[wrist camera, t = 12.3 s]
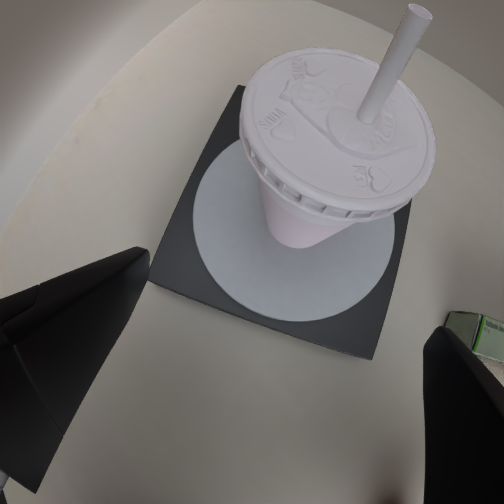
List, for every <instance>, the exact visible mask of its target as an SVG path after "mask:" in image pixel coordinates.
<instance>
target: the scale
mask: <svg viewBox="0 0 504 504" xmlns="http://www.w3.org/2000/svg"><path fill="white" fill-rule="evenodd" d="M245 88H246V87H245V86H241V85H238V86H237V88H236V90H235V91H234V93H233V95H232V97H231V99H230V100H229V102H228V104H227V106H226V108H225V110H224V111H223V113H222V115H221V117H220V119H219V121H218V123H217V125H216V126H215V128H214V130H213V132H212V134H211V136H210V138H209V140H208V142H207V144H206V146H205V148H204V150H203V152H202V154H201V156H200V158H199V160H198V162H197V164H196V166H195V168H194V170H193V172H192V174H191V176H190V178H189V180H188V182H187V184H186V186H185V189H184V191H183V193H182V195H181V197H180V199H179V201H178V204H177V206H176V208H175V210H174V212H173V215H172V217H171V219H170V221H169V224H168V226H167V228H166V230H165V233H164V235H163V237H162V240H161V242H160V244H159V247H158V249H157V251H156V254H155V256H154V259H153V261H152V263H151V266H150V268H149V277H148V281H150V282H152V283H154V284H156V285H158V286H161V287H163V288H165V289H168V290H170V291H173V292H175V293H178V294H180V295H183V296H185V297H188V298H190V299H193V300H195V301H198V302H200V303H203V304H205V305H208V306H211V307H213V308H216V309H218V310H221V311H224V312H226V313H229V314H232V315H234V316H237V317H240V318H242V319H245V320H248V321H251V322H253V323H256V324H259V325H262V326H264V327H267V328H270V329H273V330H276V331H279V332H282V333H284V334H287V335H290V336H293V337H296V338H299V339H302V340H305V341H308V342H311V343H314V344H317V345H320V346H323V347H327V348H330V349H333V350H336V351H339V352H342V353H346V354H349V355H352V356H355V357H359V358H363V359H367V360H372V358H373V355H374V352H375V349H376V346H377V343H378V340H379V336H380V333H381V330H382V327H383V323H384V320H385V316H386V313H387V309H388V306H389V302H390V299H391V295H392V291H393V287H394V283H395V279H396V275H397V271H398V267H399V262H400V258H401V253H402V249H403V244H404V239H405V234H406V229H407V224H408V219H409V213H410V207H411V201H412V198H411V200H410V201H409V202H408V204H406V205H405V206H403V207H402V208H400V209H399V210H397V211H396V212H394V213H393V214H391V215H390V216H387V217H383V218H380V219H376V220H372V221H368V222H356V223H354V224H352V225H351V226H349V227H347V228H345V229H343V230H341V231H339V232H338V233H336V234H334V235H332V236H330V237H328V238H326V239H324V240H323V241H321V242H319V243H317V244H315V245H313V246H311V247H307V248H292V247H288V246H286V245H284V244H282V243H280V242H279V241H278V240H276V239H275V238H274V237H273V235H272V234H271V233H270V231H269V229H268V227H267V224H266V219H265V213H264V208H263V202H262V197H261V191H260V186H259V180H258V175H257V173H256V171H255V170H254V168H253V167H252V165H251V164H250V163H249V161H248V160H247V158H246V155H245V152H244V149H243V145H242V142H241V139H240V136H239V123H240V112H241V104H242V98H243V93H244V91H245Z"/></svg>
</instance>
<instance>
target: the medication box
mask: <svg viewBox="0 0 504 504" xmlns="http://www.w3.org/2000/svg"><path fill="white" fill-rule="evenodd" d="M444 327H447V328H450V329H451V330H452V331H453V332H454V333H455V334H456V335H457V336H458V337H459V338H460V339H461V340H462V342H463V343H464V344H465V345H466V346H467V347H468V348H469V349H470V350H471V351H472V352H473V353H474V354H475V355H477V356H480V357H484V358H487V359H490V360H493V361H496V362H500V363H503V364H504V323H503V322H500V321H498V320H495V319H493V318H490V317H488V316H485V315H483V314H478V313H472V312H464V311H451V312H450V313H449V315H448V318H447V321H446V323H445V326H444Z"/></svg>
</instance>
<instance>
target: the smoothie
mask: <svg viewBox="0 0 504 504" xmlns="http://www.w3.org/2000/svg"><path fill="white" fill-rule="evenodd" d="M431 20H432V15H431V14H430V13H429V12H428V11H427V10H426V9H424V8H423V7H421V6H418V5H416V4H409V6H408V8H407V10H406V12H405V14H404V17H403V19H402V21H401V23H400V25H399V27H398V29H397V32H396V34H395V36H394V38H393V40H392V42H391V44H390V46H389V48H388V50H387V53H386V55H385V57H384V59H383V61H382V63H381V65H380V64H378V63H376V62H374V61H372V60H370V59H367V58H365V57H363V56H360V55H357V54H354V53H351V52H348V51H343V50H338V49H333V48H317V47H315V48H304V49H298V50H293V51H289V52H286V53H283V54H281V55H279V56H276V57H274V58H273V59H271V60H269V61H268V62H266V63H265V64H263V65H262V66H261V67H260V68H259V69H258V70H257V71H256V72H255V73H254V74H253V76H252V77H251V79H250V80H249V82H248V84H247V86H246V88H245V91H244V93H243V98H242V104H241V112H240V123H239V136H240V139H241V142H242V145H243V149H244V152H245V155H246V158H247V160H248V161H249V163H250V164H251V165H252V167H253V168H254V170H255V171H256V173H257V175H258V180H259V186H260V191H261V197H262V202H263V208H264V213H265V219H266V224H267V227H268V229H269V231H270V233H271V234H272V235H273V237H274V238H275V239H276V240H278V241H279V242H280V243H282V244H284V245H286V246H288V247H292V248H307V247H311V246H313V245H315V244H317V243H319V242H321V241H323V240H324V239H326V238H328V237H330V236H332V235H334V234H336V233H338V232H339V231H341V230H343V229H345V228H347V227H349V226H351V225H352V224H354V223H356V222H368V221H372V220H376V219H380V218H383V217H387V216H390V215H391V214H393V213H394V212H396V211H397V210H399V209H400V208H402V207H403V206H405V205H406V204H408V202H409V201H410V200H411V198H412V197H413V196H414V195H415V194H416V193H418V192H419V191H420V190H421V188H422V187H423V186H424V185H425V183H426V182H427V180H428V179H429V177H430V175H431V172H432V169H433V166H434V162H435V154H436V145H435V137H434V132H433V128H432V125H431V122H430V120H429V118H428V115H427V113H426V111H425V109H424V108H423V106H422V104H421V103H420V101H419V100H418V98H417V97H416V96H415V95H414V93H413V92H412V91H411V90H410V89H409V88H408V86H407V85H406V84H405V83H403V82H402V81H401V80H400V79H399V77H400V75H401V74H402V72H403V70H404V68H405V67H406V65H407V63H408V61H409V59H410V58H411V56H412V54H413V52H414V51H415V49H416V47H417V45H418V43H419V42H420V40H421V38H422V36H423V34H424V32H425V30H426V29H427V27H428V25H429V23H430V21H431Z"/></svg>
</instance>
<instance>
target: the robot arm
mask: <svg viewBox="0 0 504 504" xmlns="http://www.w3.org/2000/svg"><path fill="white" fill-rule="evenodd" d="M149 262H150V253H149V251H148V250H147V249H144V248H141V247H133V248H130V249H127V250H125V251H122V252H119V253H117V254H114V255H111V256H109V257H106V258H104V259H101V260H98V261H96V262H93V263H91V264H88V265H85V266H83V267H80V268H78V269H75V270H73V271H70V272H68V273H65V274H63V275H60V276H58V277H55V278H53V279H50V280H48V281H45V282H43V283H41V284H40V285H36V286H33V287H31V288H28V289H26V290H23V291H21V292H18V293H16V294H13V295H11V296H8V297H5V298H2V299H0V504H7V501H6V498H5V495H4V492H3V488H4V486H5V484H6V482H7V480H8V478H9V477H11V478H12V479H14V480H15V481H16V482H18V483H19V484H21V485H22V486H24V487H25V488H27V489H28V490H30V491H31V492H33V493H34V494H36V492H37V490H38V488H39V486H40V484H41V482H42V480H43V478H44V476H45V473H46V471H47V469H48V467H49V465H50V463H51V461H52V459H53V457H54V455H55V453H56V451H57V449H58V447H59V445H60V443H61V441H62V439H63V435H65V433H66V431H67V429H68V427H69V425H70V423H71V421H72V419H73V417H74V415H75V413H76V412H77V410H78V408H79V406H80V404H81V402H82V400H83V399H84V397H85V395H86V393H87V391H88V390H89V388H90V386H91V384H92V382H93V381H94V379H95V377H96V375H97V374H98V372H99V370H100V368H101V367H102V365H103V363H104V361H105V360H106V358H107V356H108V354H109V353H110V351H111V349H112V348H113V346H114V344H115V343H116V341H117V339H118V338H119V336H120V334H121V333H122V331H123V329H124V328H125V326H126V324H127V322H128V321H129V319H130V316H131V314H132V312H133V310H134V308H135V306H136V304H137V301H138V299H139V297H140V295H141V293H142V291H143V289H144V287H145V284H146V282H147V280H148V277H149ZM423 400H424V419H425V485H424V503H423V504H504V387H503V386H502V384H501V383H500V382H499V381H498V380H497V379H496V378H495V376H494V375H493V374H492V373H491V372H490V371H489V370H488V369H487V367H486V366H485V365H484V364H483V363H482V362H481V361H480V360H479V359H478V358H477V356H476V355H475V354H474V353H473V352H472V351H471V350H470V349H469V348H468V347H467V346H466V345H465V344H464V343H463V342H462V340H461V339H460V338H459V337H458V336H457V335H456V334H455V333H454V332H453V331H452V330H451V329H450V328H447V327H443V326H438V327H437V328H436V329H435V330H434V332H433V333H432V335H431V336H430V338H429V339H428V340H427V342H426V343H425V345H424V349H423Z"/></svg>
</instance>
